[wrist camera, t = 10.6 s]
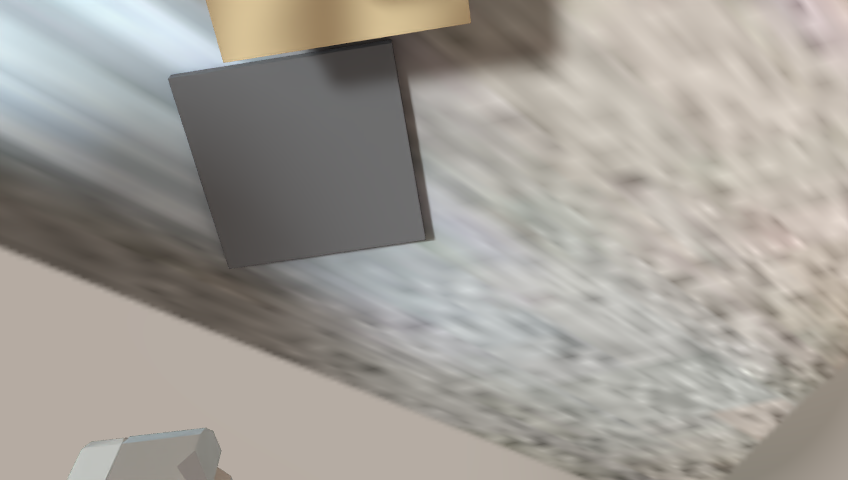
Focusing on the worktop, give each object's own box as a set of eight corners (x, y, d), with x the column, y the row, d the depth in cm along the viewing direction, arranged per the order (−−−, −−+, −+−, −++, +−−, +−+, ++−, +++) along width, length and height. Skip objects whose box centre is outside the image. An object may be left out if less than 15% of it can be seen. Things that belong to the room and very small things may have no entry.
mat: (231, 263, 45) (229, 268, 44) (170, 75, 39) (167, 78, 39) (425, 234, 44) (425, 239, 44) (391, 39, 39) (391, 43, 38)
